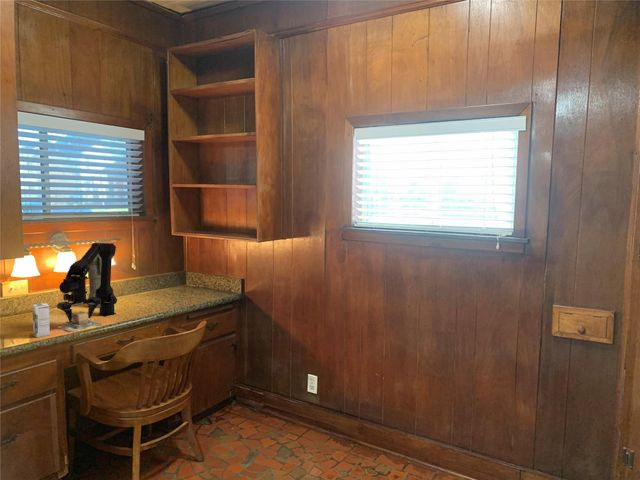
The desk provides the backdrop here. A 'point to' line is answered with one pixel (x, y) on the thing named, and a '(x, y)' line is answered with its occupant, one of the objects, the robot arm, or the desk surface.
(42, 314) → the syrup box
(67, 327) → the socket plate
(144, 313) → the desk surface
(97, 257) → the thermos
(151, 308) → the desk surface
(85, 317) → the plug block
